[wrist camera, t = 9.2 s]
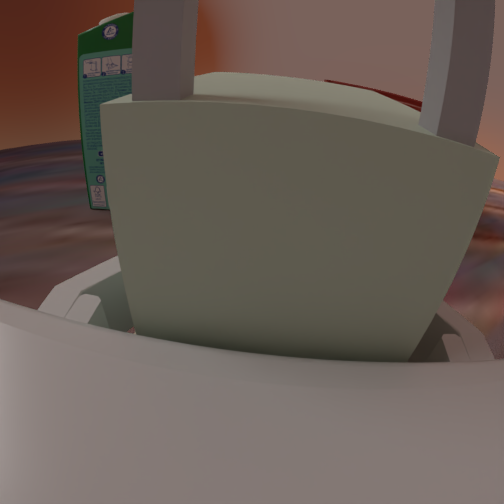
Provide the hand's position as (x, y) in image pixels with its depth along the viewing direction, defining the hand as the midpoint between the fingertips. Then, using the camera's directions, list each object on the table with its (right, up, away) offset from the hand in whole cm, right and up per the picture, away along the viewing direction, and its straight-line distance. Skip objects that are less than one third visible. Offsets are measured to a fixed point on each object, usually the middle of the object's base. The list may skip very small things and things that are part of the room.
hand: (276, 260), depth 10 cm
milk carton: (-17, +8, +33) cm, 38 cm away
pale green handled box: (0, -5, +3) cm, 6 cm away
